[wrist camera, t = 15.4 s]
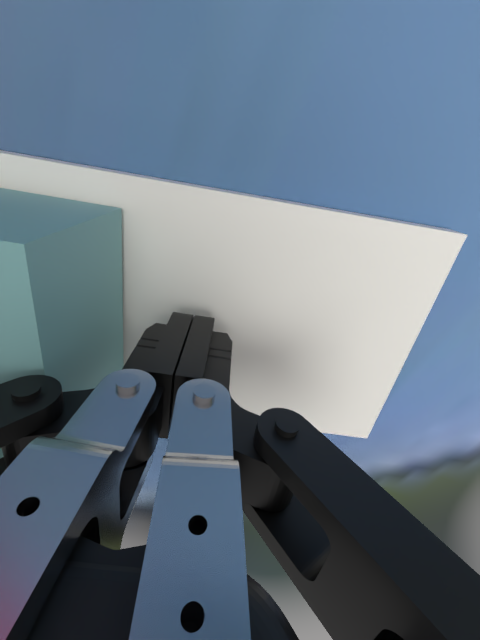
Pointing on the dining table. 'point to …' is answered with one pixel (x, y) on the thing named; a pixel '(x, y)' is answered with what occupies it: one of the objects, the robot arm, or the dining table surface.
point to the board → (268, 284)
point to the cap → (60, 289)
